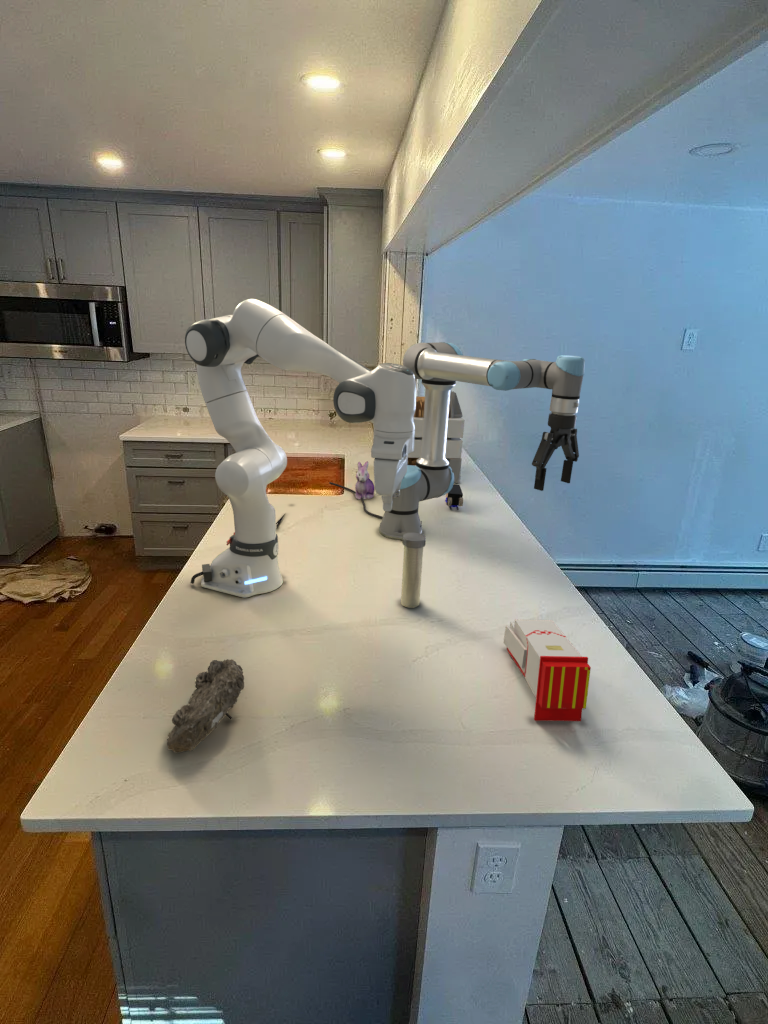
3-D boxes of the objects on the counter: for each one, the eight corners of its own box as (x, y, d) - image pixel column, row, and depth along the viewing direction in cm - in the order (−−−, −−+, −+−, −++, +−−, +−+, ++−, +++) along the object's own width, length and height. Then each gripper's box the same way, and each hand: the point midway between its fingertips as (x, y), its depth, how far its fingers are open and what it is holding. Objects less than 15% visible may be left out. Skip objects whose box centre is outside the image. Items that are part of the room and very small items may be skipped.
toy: (549, 604, 136) (599, 663, 106) (544, 656, 138) (591, 727, 109) (499, 603, 135) (535, 662, 106) (495, 655, 138) (529, 726, 109)
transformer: (382, 463, 289) (386, 382, 275) (445, 464, 293) (451, 384, 279) (390, 482, 257) (394, 392, 243) (460, 483, 261) (468, 394, 247)
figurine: (359, 501, 230) (360, 466, 225) (349, 494, 239) (349, 459, 234) (379, 499, 235) (381, 464, 230) (369, 491, 243) (370, 458, 238)
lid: (399, 546, 146) (399, 538, 145) (406, 538, 151) (407, 530, 150) (421, 550, 144) (421, 542, 143) (428, 542, 149) (428, 534, 148)
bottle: (398, 605, 152) (401, 539, 145) (404, 597, 156) (408, 533, 150) (415, 609, 150) (420, 543, 144) (421, 601, 154) (426, 536, 148)
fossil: (192, 660, 117) (244, 628, 112) (224, 691, 120) (276, 661, 115) (142, 746, 98) (202, 712, 93) (182, 779, 101) (242, 748, 96)
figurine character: (463, 515, 225) (458, 499, 238) (465, 497, 221) (460, 482, 235) (446, 514, 224) (442, 498, 238) (448, 497, 221) (444, 482, 235)
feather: (292, 507, 224) (294, 503, 223) (275, 531, 197) (278, 527, 197) (288, 505, 224) (291, 501, 223) (271, 528, 197) (273, 524, 197)
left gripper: (388, 431, 131) (386, 488, 136) (369, 451, 112) (367, 517, 117) (415, 433, 130) (412, 491, 135) (400, 453, 111) (398, 519, 116)
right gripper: (548, 419, 148) (537, 496, 155) (598, 411, 163) (586, 482, 171) (525, 414, 153) (515, 489, 160) (575, 407, 169) (564, 476, 176)
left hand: (391, 503), depth 126 cm, fingers open, 8 cm apart
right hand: (552, 485), depth 166 cm, fingers open, 13 cm apart
